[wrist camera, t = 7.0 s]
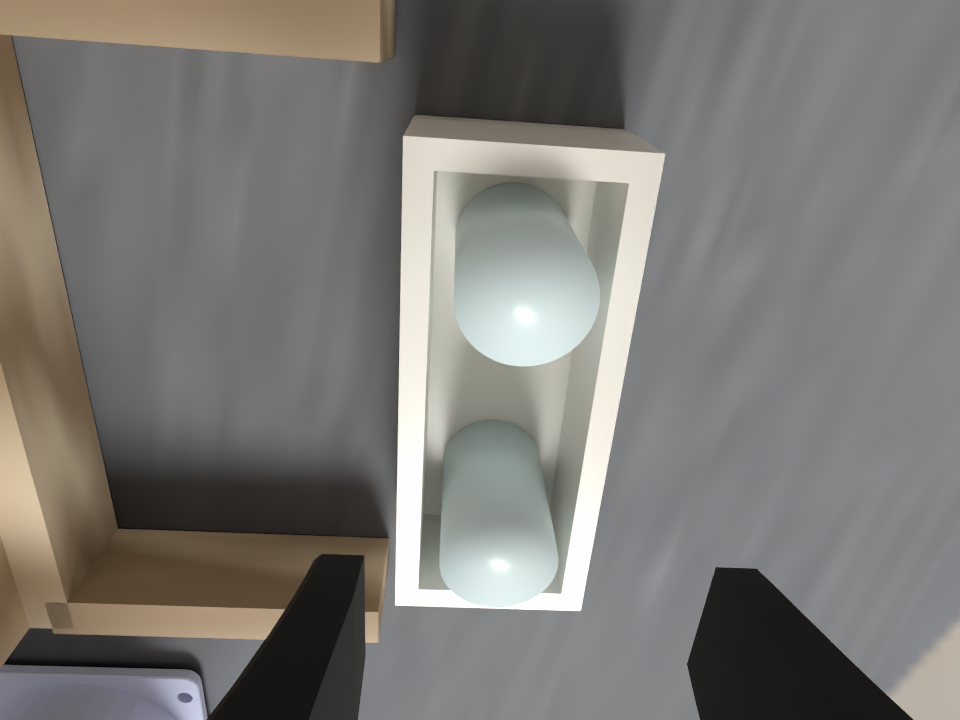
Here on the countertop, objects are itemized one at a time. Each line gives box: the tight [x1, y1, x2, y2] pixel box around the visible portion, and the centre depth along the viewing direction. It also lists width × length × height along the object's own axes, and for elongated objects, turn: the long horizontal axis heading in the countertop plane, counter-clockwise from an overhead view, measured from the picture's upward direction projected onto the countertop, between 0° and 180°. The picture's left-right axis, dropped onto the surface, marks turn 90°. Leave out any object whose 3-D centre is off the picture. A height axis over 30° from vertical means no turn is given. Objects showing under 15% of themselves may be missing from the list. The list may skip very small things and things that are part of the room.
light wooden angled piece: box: [0, 0, 395, 668], centre depth 16 cm, size 16×13×5 cm
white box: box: [395, 115, 665, 611], centre depth 16 cm, size 12×5×5 cm, turn 176°
